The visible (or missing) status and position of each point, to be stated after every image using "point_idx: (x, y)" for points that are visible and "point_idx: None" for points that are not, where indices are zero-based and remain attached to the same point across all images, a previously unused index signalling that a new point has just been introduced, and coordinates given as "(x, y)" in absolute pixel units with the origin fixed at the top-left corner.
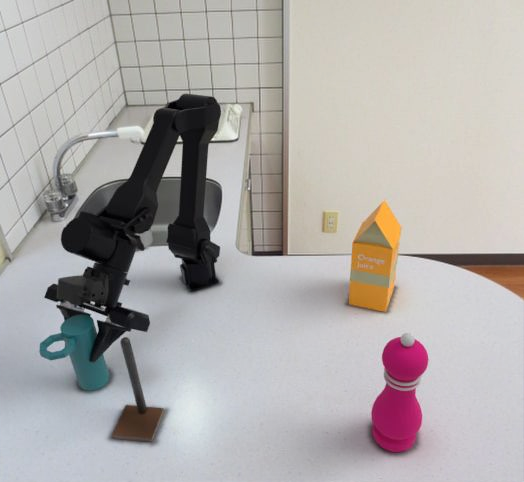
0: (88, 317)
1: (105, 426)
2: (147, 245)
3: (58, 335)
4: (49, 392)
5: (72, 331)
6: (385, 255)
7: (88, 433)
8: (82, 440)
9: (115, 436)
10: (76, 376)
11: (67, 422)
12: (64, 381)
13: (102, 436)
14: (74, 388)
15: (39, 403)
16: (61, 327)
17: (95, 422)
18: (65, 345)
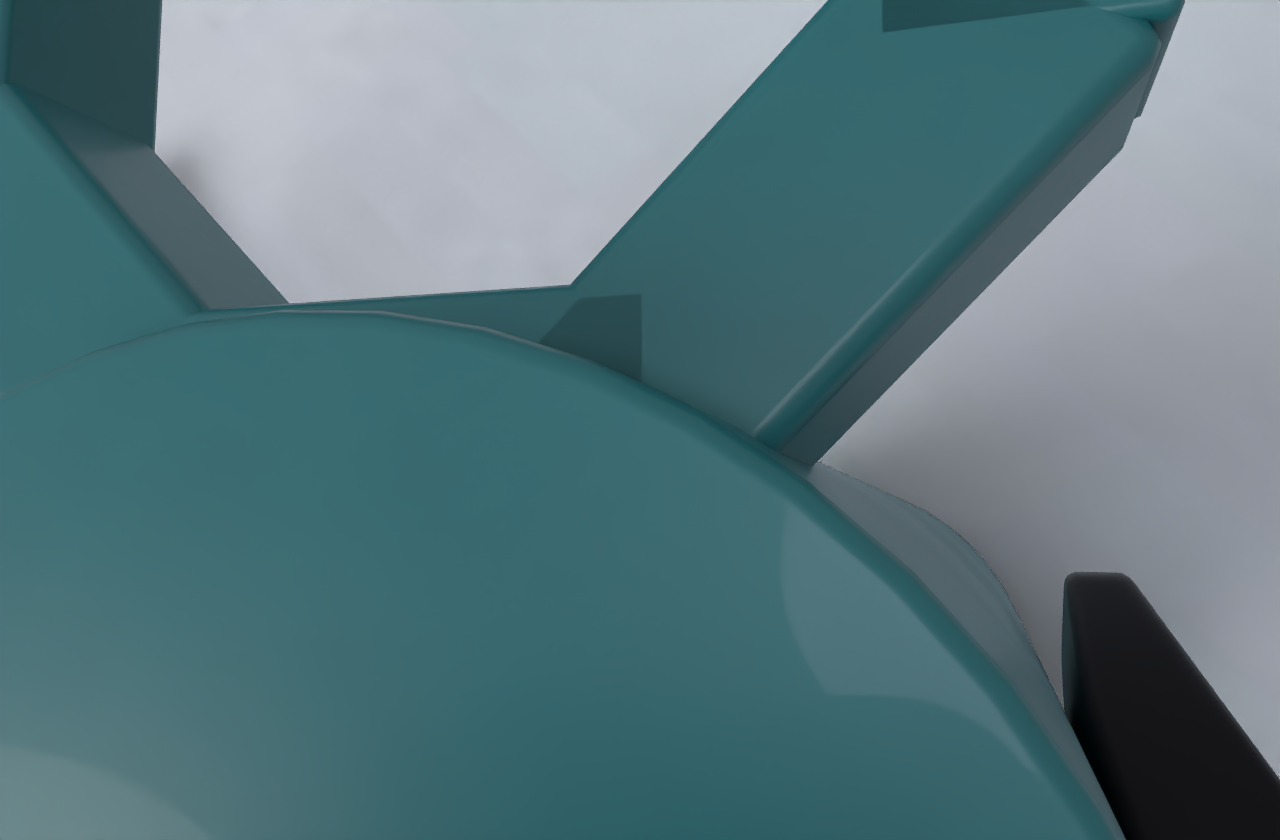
0: None
1: (284, 234)
2: None
3: (749, 227)
4: (1209, 240)
5: (84, 645)
6: None
7: (366, 93)
8: (362, 12)
9: None
10: (896, 497)
11: (636, 64)
12: (1185, 478)
13: (241, 141)
14: (951, 448)
15: (1166, 54)
16: (899, 662)
17: (393, 217)
18: (1152, 653)
